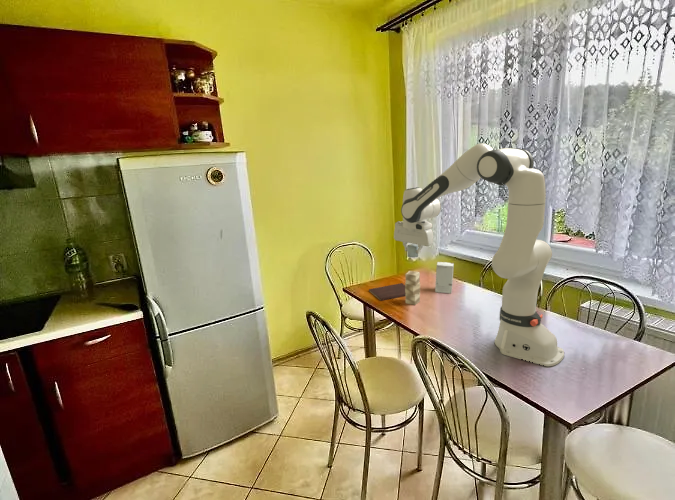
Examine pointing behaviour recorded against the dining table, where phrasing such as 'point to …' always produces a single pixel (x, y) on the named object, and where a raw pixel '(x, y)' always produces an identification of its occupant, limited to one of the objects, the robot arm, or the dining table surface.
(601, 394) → the dining table surface
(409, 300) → the tower base
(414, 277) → the tower top
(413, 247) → the blue-grey rounded cube
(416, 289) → the tower mid
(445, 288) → the skincare box
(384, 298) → the notebook
